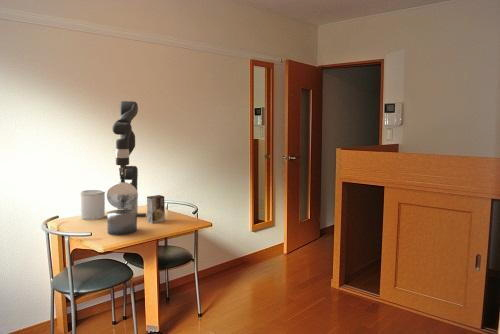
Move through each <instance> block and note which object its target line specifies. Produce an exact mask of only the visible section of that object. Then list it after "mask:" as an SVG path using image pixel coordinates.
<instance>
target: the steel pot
mask: <svg viewBox="0 0 500 334" xmlns="http://www.w3.org/2000/svg"><path fill="white" fill-rule="evenodd" d="M106 215H107V216H106V218H107V219H106V221H107V225H106V226H107V234H108V235H110V236H129V235H132V234H136V233H137V232H138V218H147V213H145V212H143V213H142V212H140V213H139V212H138V214H137V211H135V210H128V209H115V210H110V211H107V213H106Z"/></svg>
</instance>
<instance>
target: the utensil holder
mask: <svg viewBox="0 0 500 334" xmlns="http://www.w3.org/2000/svg"><path fill="white" fill-rule="evenodd" d="M79 192H80V193H79V194H80V210H81V219H82V220H87V221H94V220H95V221H96V220H100V219H104V218H105V215H106V214H105V211H106V208H105V203H106V202H105V201H106V200H105V195H106V194H105V193H106V190H105V189H103V188H88V189H82V190H80V191H79Z"/></svg>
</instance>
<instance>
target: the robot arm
mask: <svg viewBox="0 0 500 334" xmlns="http://www.w3.org/2000/svg"><path fill="white" fill-rule="evenodd" d="M138 106H139V105H138V103H137V101H133V100H132V101H131V100H129V101H128V100H127V101H126V100H121V101H120V103H119V117H118V118H119V119H117V120H116V121H115V122H114V123H113V125H112V132H113V134H115V135H119V136H120V138H117V139H116V140H115V165H116V166H119V168H118V170H119V171H118V172H119V179H120V182H126V181H131V182H129V184H131V185H133V186H134V187H135V188H136V190H137V191H138V176H139V175H138V173H139V172H138V167H137V166H136V165H130V155H131V154H132V153H133V151H134V150H135V147H136V135H135V132H134V130H133V127H132V124H131V123H132V120H134V118H136V116H137V115H138V112H139V107H138ZM138 203H139V201H138V199H137V201H136V203H135V204H134V205H133V206H131V207H129V208H128V210H135V211H137V214H138V213H139V212H138V211H139V210H138V208H139V205H138Z"/></svg>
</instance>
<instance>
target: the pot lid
mask: <svg viewBox="0 0 500 334" xmlns="http://www.w3.org/2000/svg"><path fill="white" fill-rule="evenodd" d="M138 193H139V192H138V189H137V190H136V188H135V187H134V186H133V185H131V184H130V182H129V183H128V182H126V181H125V182H121V181H120V182H116V183H114V184H112V185H110V187H109V188H108V190H107V193H106V200H107V201H108V203H109V204H110V205H111V206H112V207H113V208H116V209H117V210H122V209H128V208H129V207H131V206H133V205H134V204H135V203H136V201H137V199H138V198H139V194H138Z"/></svg>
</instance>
